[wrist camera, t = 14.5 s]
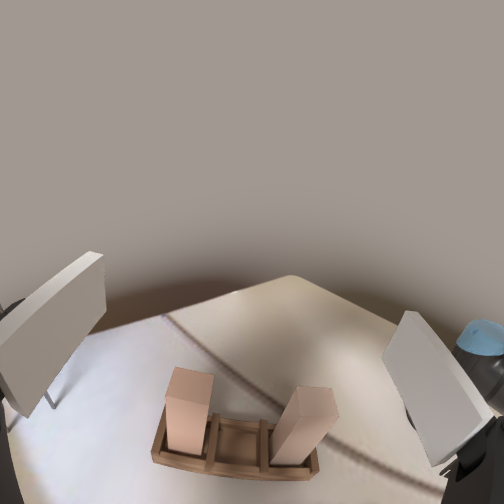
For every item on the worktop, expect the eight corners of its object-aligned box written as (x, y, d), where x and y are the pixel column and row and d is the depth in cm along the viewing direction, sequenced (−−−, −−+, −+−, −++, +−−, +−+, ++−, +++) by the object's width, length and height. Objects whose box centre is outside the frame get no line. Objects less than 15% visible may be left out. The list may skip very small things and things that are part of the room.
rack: (303, 435, 36) (311, 422, 35) (309, 480, 28) (319, 470, 26) (166, 416, 35) (165, 402, 33) (153, 462, 26) (150, 451, 25)
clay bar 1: (174, 427, 32) (175, 366, 28) (204, 433, 33) (214, 374, 28) (168, 450, 28) (165, 395, 23) (200, 457, 28) (209, 405, 24)
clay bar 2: (267, 441, 33) (296, 385, 28) (296, 442, 33) (331, 388, 29) (268, 465, 29) (300, 415, 24) (298, 466, 29) (339, 416, 24)
